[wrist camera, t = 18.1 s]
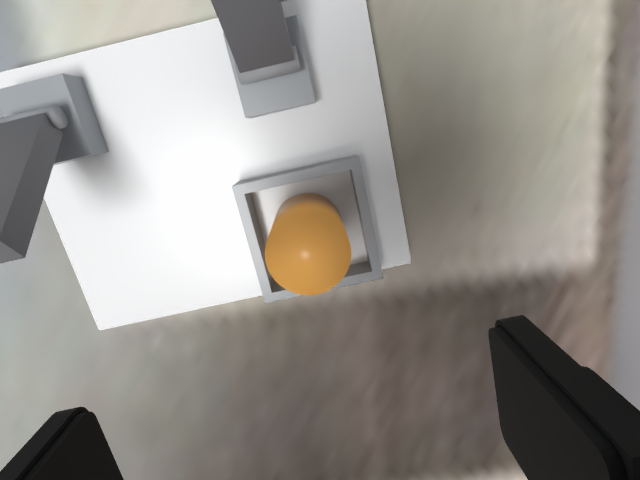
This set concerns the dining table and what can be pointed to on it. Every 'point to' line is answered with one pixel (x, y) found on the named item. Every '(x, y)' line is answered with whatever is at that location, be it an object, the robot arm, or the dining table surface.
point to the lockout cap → (308, 245)
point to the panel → (212, 160)
